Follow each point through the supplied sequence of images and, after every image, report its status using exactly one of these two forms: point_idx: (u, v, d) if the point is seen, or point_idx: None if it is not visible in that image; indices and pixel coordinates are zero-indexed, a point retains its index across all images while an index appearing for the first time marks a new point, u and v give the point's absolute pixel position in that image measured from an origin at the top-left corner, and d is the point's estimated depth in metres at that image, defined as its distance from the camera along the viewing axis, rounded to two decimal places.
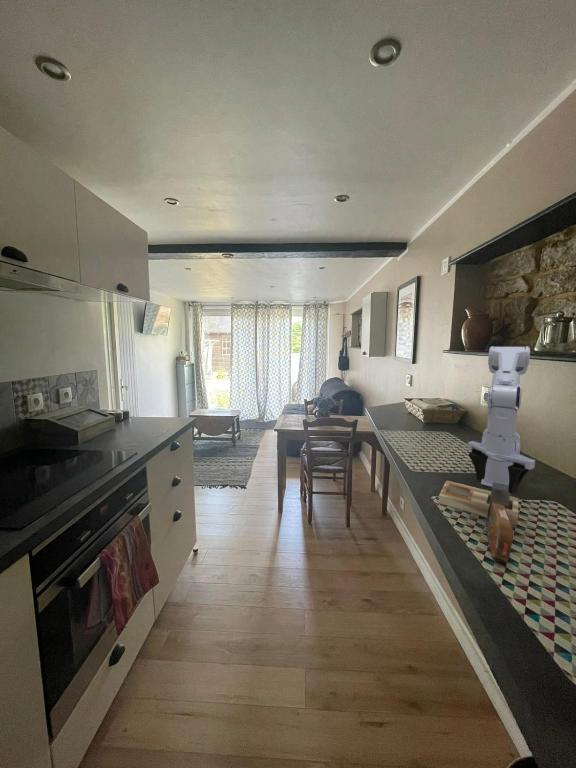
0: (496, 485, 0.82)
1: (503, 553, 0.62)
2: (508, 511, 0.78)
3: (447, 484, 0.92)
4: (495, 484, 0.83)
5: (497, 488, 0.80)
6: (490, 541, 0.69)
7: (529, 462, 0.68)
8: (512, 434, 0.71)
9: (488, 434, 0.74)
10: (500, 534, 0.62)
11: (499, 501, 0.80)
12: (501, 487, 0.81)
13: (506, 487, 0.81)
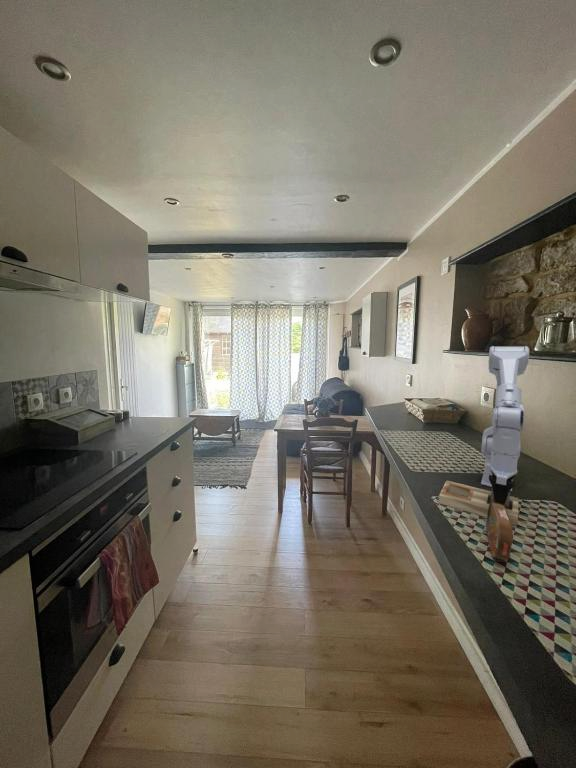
0: None
1: (503, 553, 0.62)
2: (508, 511, 0.78)
3: (447, 484, 0.92)
4: None
5: None
6: (490, 541, 0.69)
7: (497, 476, 0.75)
8: (516, 452, 0.77)
9: None
10: (500, 534, 0.62)
11: None
12: None
13: None
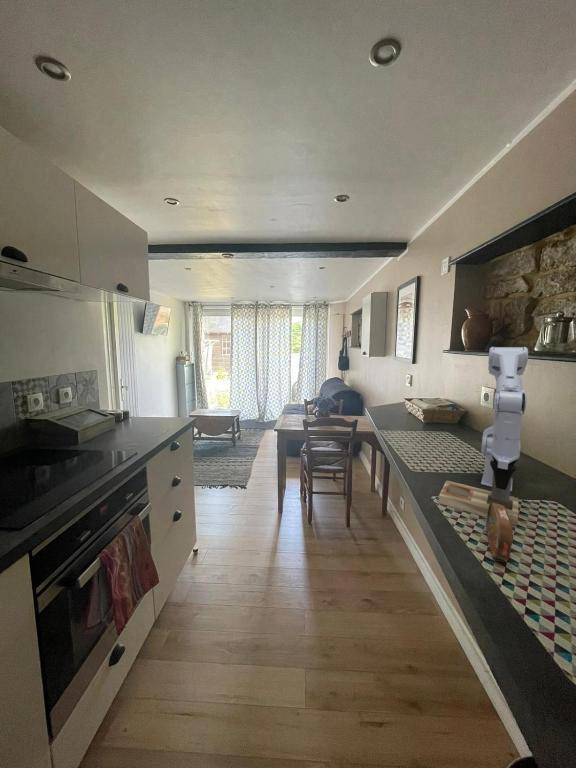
0: None
1: (503, 553, 0.62)
2: (508, 511, 0.78)
3: (447, 484, 0.92)
4: None
5: None
6: (490, 541, 0.69)
7: (498, 461, 0.75)
8: (517, 437, 0.76)
9: None
10: (500, 534, 0.62)
11: None
12: None
13: None
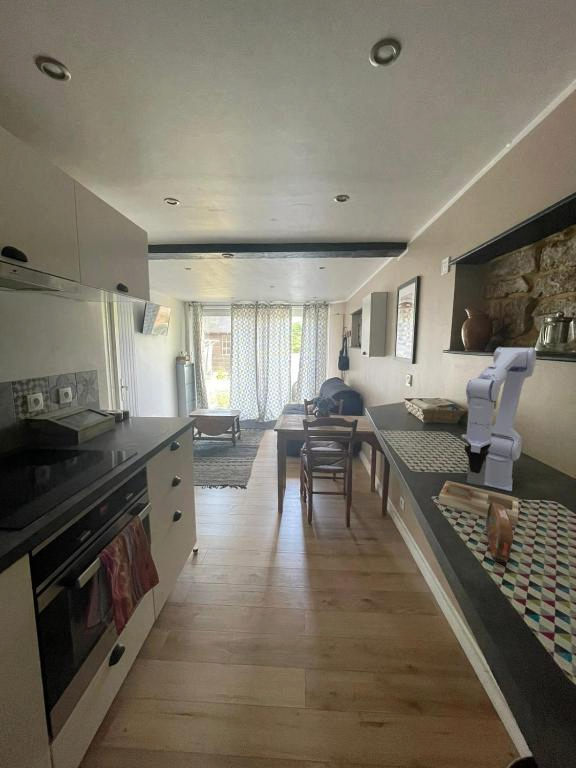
0: None
1: (503, 553, 0.62)
2: (508, 511, 0.78)
3: (447, 484, 0.92)
4: None
5: None
6: (490, 541, 0.69)
7: (471, 445, 0.78)
8: (487, 422, 0.79)
9: None
10: (500, 534, 0.62)
11: None
12: None
13: None
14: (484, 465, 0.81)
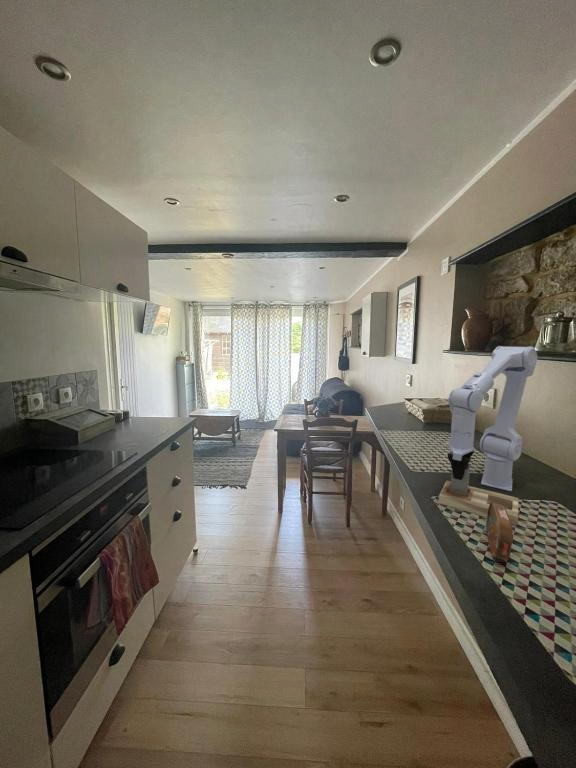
0: None
1: (503, 553, 0.62)
2: (508, 511, 0.78)
3: (447, 484, 0.92)
4: None
5: None
6: (490, 541, 0.69)
7: (453, 453, 0.81)
8: (467, 431, 0.82)
9: None
10: (500, 534, 0.62)
11: None
12: None
13: None
14: (466, 472, 0.84)
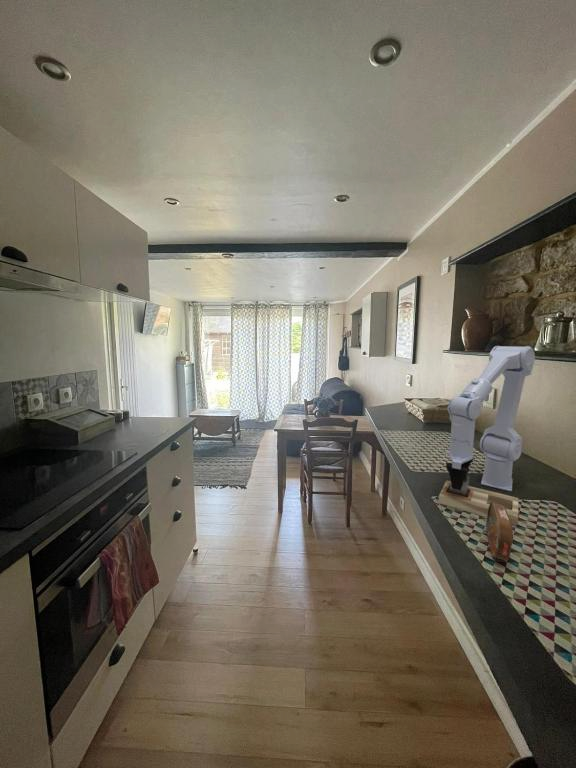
0: None
1: (503, 553, 0.62)
2: (508, 511, 0.78)
3: (447, 484, 0.92)
4: None
5: None
6: (490, 541, 0.69)
7: (452, 461, 0.81)
8: (466, 440, 0.83)
9: None
10: (500, 534, 0.62)
11: (457, 491, 0.86)
12: None
13: None
14: (465, 485, 0.85)
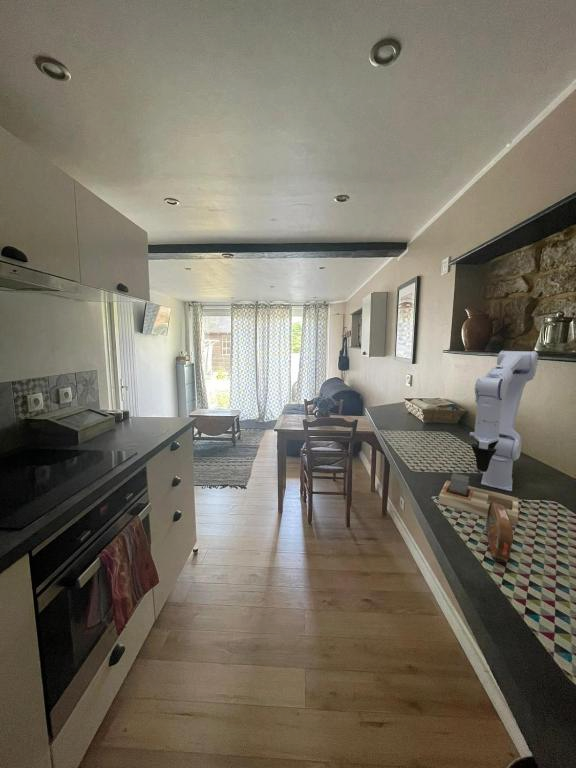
0: (455, 476, 0.88)
1: (503, 553, 0.62)
2: (508, 511, 0.78)
3: (447, 484, 0.92)
4: (455, 474, 0.89)
5: (456, 478, 0.86)
6: (490, 541, 0.69)
7: (479, 441, 0.80)
8: (495, 420, 0.82)
9: None
10: (500, 534, 0.62)
11: (457, 491, 0.86)
12: (460, 478, 0.87)
13: (464, 477, 0.87)
14: (465, 485, 0.85)
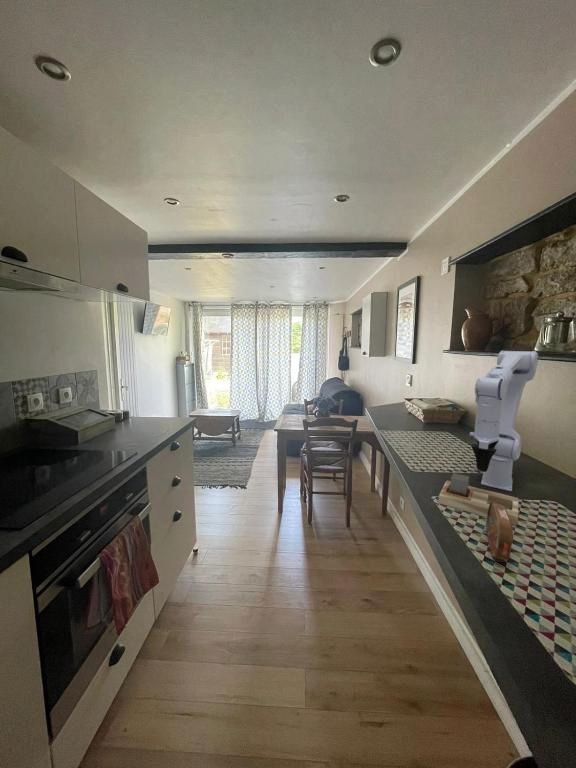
0: (455, 476, 0.88)
1: (503, 553, 0.62)
2: (508, 511, 0.78)
3: (447, 484, 0.92)
4: (455, 474, 0.89)
5: (456, 478, 0.86)
6: (490, 541, 0.69)
7: (479, 441, 0.80)
8: (495, 420, 0.82)
9: None
10: (500, 534, 0.62)
11: (457, 491, 0.86)
12: (460, 478, 0.87)
13: (464, 477, 0.87)
14: (465, 485, 0.85)
